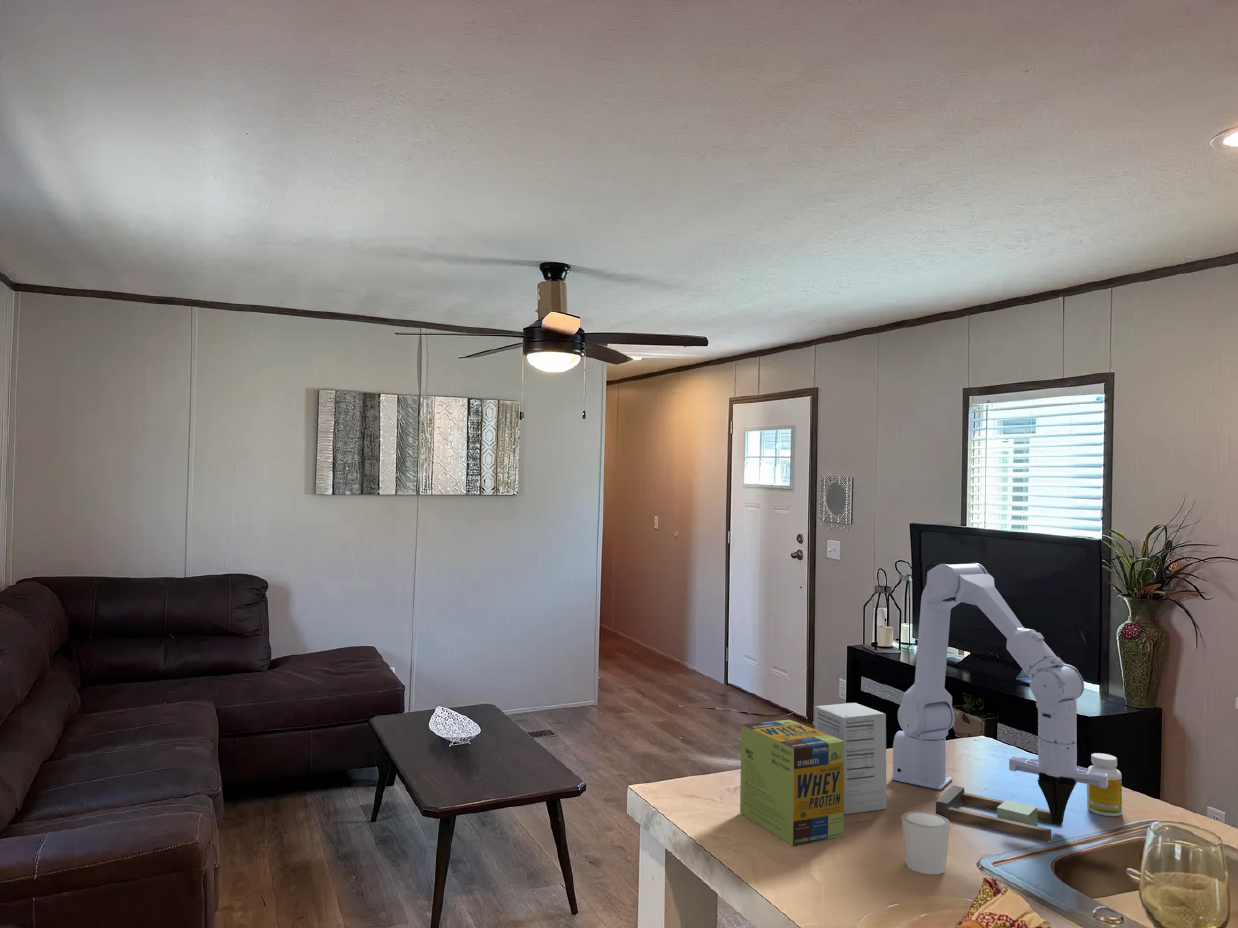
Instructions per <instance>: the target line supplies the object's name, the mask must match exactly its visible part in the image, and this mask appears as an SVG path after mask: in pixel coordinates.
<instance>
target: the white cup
mask: <svg viewBox="0 0 1238 928" xmlns="http://www.w3.org/2000/svg"><path fill="white" fill-rule="evenodd" d="M901 822H902V825H901V826H902V834H903V835H902V836H903V846H904V856H905V857H904V858H905V865H906V866H907V868H909V869H910V870H912V871H914V872H916V873H920V874H925V875H940V874H943V873H945V871H946V869H947V862H948V860H947V859H948V852H949V850H948V849H949V839H950V828H951V821H950V819H949V818H945V817H943V816H940V815H937V814H936V813H934V812H930V811H929V812H928V811H920V810H919V811H908V812H904V813H903V814H902V815H901Z"/></svg>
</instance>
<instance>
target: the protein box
mask: <svg viewBox="0 0 1238 928" xmlns="http://www.w3.org/2000/svg"><path fill="white" fill-rule="evenodd" d="M740 727H741V728H740V791H739V792H740V795H739V796H740V797H739V799H740V800H739V801H740V803H739V813H740V815H742V816H744V817H746V818H747V819H749V820H751V821H752V822H754V823H755V824H756V825H758V826H760V827H761V828H763V829H765V830H766V831H767V832H769V833H771V834H773V835H774V836H775V837H777V838H779V839H780V840H782V841H784V842H785V843H787V845H790V846H792V847H794V846H799V845H804V844H809V843H816V842H820V841H824V840H825V841H826V840H829V839H837V838H841V837H844V836H845V832H844V830H845V829H844V825H845V821H844V815H845V814H844V741H843V740H841V739H838V738H835V737H833V736H830V735H827V734H825V733H823V732H820V731H818V730H815V728H813V727H810V726H807V725H805V724H803V723H799V722H797V721H794V720H791V719H784V720H783V719H782V720H773V721H772V720H771V721H763V722H752V723H744V724H741V726H740Z"/></svg>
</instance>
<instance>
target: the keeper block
mask: <svg viewBox="0 0 1238 928" xmlns="http://www.w3.org/2000/svg"><path fill="white" fill-rule="evenodd" d="M1003 801H1004V802H1003V803H1002V804H1001V805H999V806H998V807H997V811H996V817H997V818H1001V819H1006V820H1010V821H1015V822H1019V823H1024V824H1028V825H1033V826H1037V825H1038V820H1037V808H1038V807H1037V806H1034V805H1030V804H1025V803H1023V802H1022V803H1021V802H1017V801H1013V800H1010V799H1005V800H1003Z"/></svg>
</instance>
